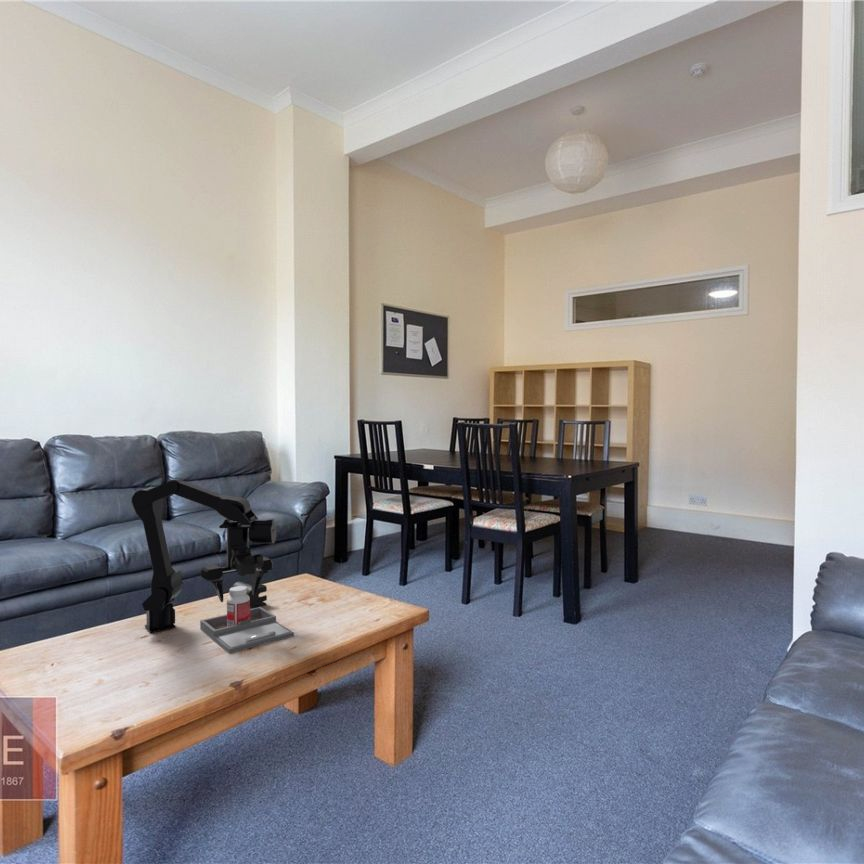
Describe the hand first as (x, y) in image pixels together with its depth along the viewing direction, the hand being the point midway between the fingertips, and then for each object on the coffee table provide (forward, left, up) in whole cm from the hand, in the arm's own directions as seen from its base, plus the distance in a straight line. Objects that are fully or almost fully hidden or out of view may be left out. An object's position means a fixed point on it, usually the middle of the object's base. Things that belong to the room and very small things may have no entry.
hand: (238, 598), depth 159 cm
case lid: (0, -11, -8) cm, 14 cm away
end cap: (+10, +17, -8) cm, 21 cm away
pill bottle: (0, 0, -8) cm, 8 cm away
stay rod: (0, -15, -7) cm, 16 cm away
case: (0, 0, -8) cm, 8 cm away
